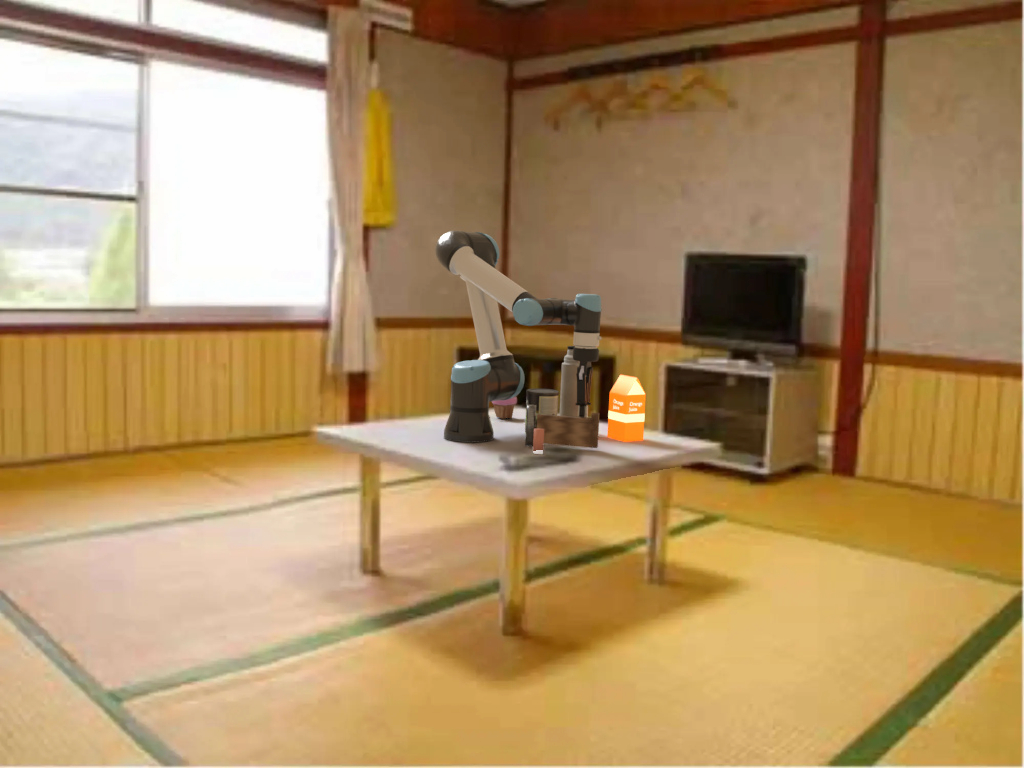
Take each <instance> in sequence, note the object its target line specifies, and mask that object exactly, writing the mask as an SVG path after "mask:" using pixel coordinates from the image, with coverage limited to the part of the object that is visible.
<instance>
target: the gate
mask: <svg viewBox="0 0 1024 768" xmlns="http://www.w3.org/2000/svg"><path fill="white" fill-rule="evenodd" d="M559 415H560V414H559ZM559 415H558V414H557V415H545V414H538V415H537V428H541V429H544V445H556V446H568V447H569V446H570V447H580V448H591V449H593V448H594V449H597V448H598V447H599V431H600V430H599V429H600V412H592V413H591V416H590V417H588V418H586V417H573V416H559Z"/></svg>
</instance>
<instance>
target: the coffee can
mask: <svg viewBox="0 0 1024 768" xmlns="http://www.w3.org/2000/svg"><path fill="white" fill-rule="evenodd" d="M525 391H526V398H525V399H526V400H525V401H526V402H525V417H526V416H527V405H536V427H535V428H537V415H538V414H545V415H558V410H559V394H560V391H558V390H557V389H551V388H528V389H526V390H525ZM524 423H525V427H524V435H526V420H525V422H524Z"/></svg>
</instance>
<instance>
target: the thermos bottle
mask: <svg viewBox="0 0 1024 768" xmlns="http://www.w3.org/2000/svg"><path fill="white" fill-rule="evenodd" d="M574 347H575V346H574V345H568V346H567V347H566V348H567V353H566V355H564V358H563V362H562V363H561V378H560V392H559V394H560V396H559V397H560V398H559V416H573V417H578V405H576V404H575V403H577V375H576V374H577V367H579V363H580V361H576V360H573V348H574Z"/></svg>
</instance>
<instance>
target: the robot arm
mask: <svg viewBox="0 0 1024 768" xmlns="http://www.w3.org/2000/svg"><path fill="white" fill-rule="evenodd" d="M434 250H435V257H436V260H437V261H438V262H439V265H441V266H442V267H443V268H444V269H446V270H447V271H448V272H450V273H451V274H453V275H456V276H458V275H459V278H460V279H461V280H462V281H464V283H465V284H466V285H465V286H466V290H467V296H468V300H469V305H470V310H471V315H472V321H473V325H474V330H475V337H476V341H477V345H478V351H479V357H478V358H477V359H472V360H463V361H458V362H456V363H455V364H453V366H452V368H451V375H450V408H449V409H450V411H449V412H450V413H449V415H448V418H447V421H446V424H445V427H444V429H443V438H444V439H445V440H449V441H454V442H461V443H463V442H464V443H482V442H484V443H485V442H489V441H493V440H494V427H493V425H492V422H491V417H490V414H489V410H490V406H489V405H490V402H492V401H499V400H501V401H504V400H508V399H511V398H514V397H516V398H517V397H518V395H519V394H520V393H521V391H522V390H523V388H524V384H525V373H524V370H523V368H522V366H520V365H519V363H516V362H515V359H514V354H513V353H511V352H510V351H509V350H508V349H507V345H506V340H505V334H504V329H503V324H502V319H501V314H500V308H499V304H500V305H501V306H503V307H504V308H506V309H507V310H508V311H510V312H512V316H513V318H514V321H516V323H518V324H519V325H522V326H528V327H532V326H547V325H550V326H551V325H559V326H562V325H564V326H571V327H572V326H573V327H574V328H573V339H572V340H573V343H572V344H573V345H572V346H575V347H574V348H573V360H576V361H580V363H579V367H577V374H576V375H577V403H575V404H576V405H578V417H586V418H589V416H588V415H589V406H591V405H592V402H590V401H591V390H592V380H593V374H594V367H592V362H593V363H594V362H598V361H599V358H600V357H599V356H600V350H599V348H598V347H599V346H600V341H601V340H602V336H600V332H601V330H600V329H601V317H602V316H601V315H602V311H603V310H602V297H601V295H599V294H596V293H577V294H576V295H575V299H563V298H554V297H553V298H552V297H551V298H550V297H549V298H537V297H536V296H534V294H533V293H530V292H529V291H528V290H526V289H525V288H523V287H522V286H521V285H519V284H518V283H517V282H515V281H513V280H512V279H511V278H509V277H508V276H506V275H504V274H503V272H500V271H499V270H498V269H496V266H497V265H498V263H499V261H498V260H499V259H500V248H499V245H498V243H497V241H496V240H495V239H494V238H493V237H492V236H491V235H489V234H486V233H484V232H479V231H463V230H449V231H447V232H444V233H443V234H442V235H441V236H440V237H439V238H438V240H437V242H436V244H435V249H434ZM498 303H499V304H498Z"/></svg>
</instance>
